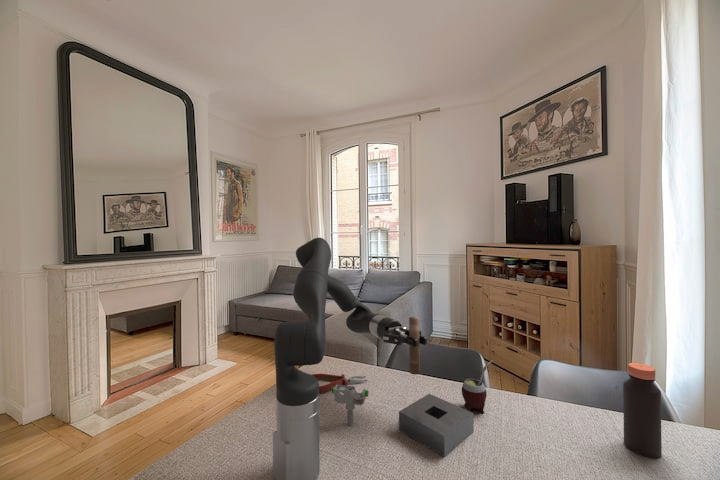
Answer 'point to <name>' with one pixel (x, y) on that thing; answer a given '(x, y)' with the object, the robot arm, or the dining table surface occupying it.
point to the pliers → (337, 381)
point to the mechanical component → (349, 399)
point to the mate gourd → (475, 393)
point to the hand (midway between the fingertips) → (421, 342)
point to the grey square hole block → (436, 423)
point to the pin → (414, 351)
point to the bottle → (642, 411)
